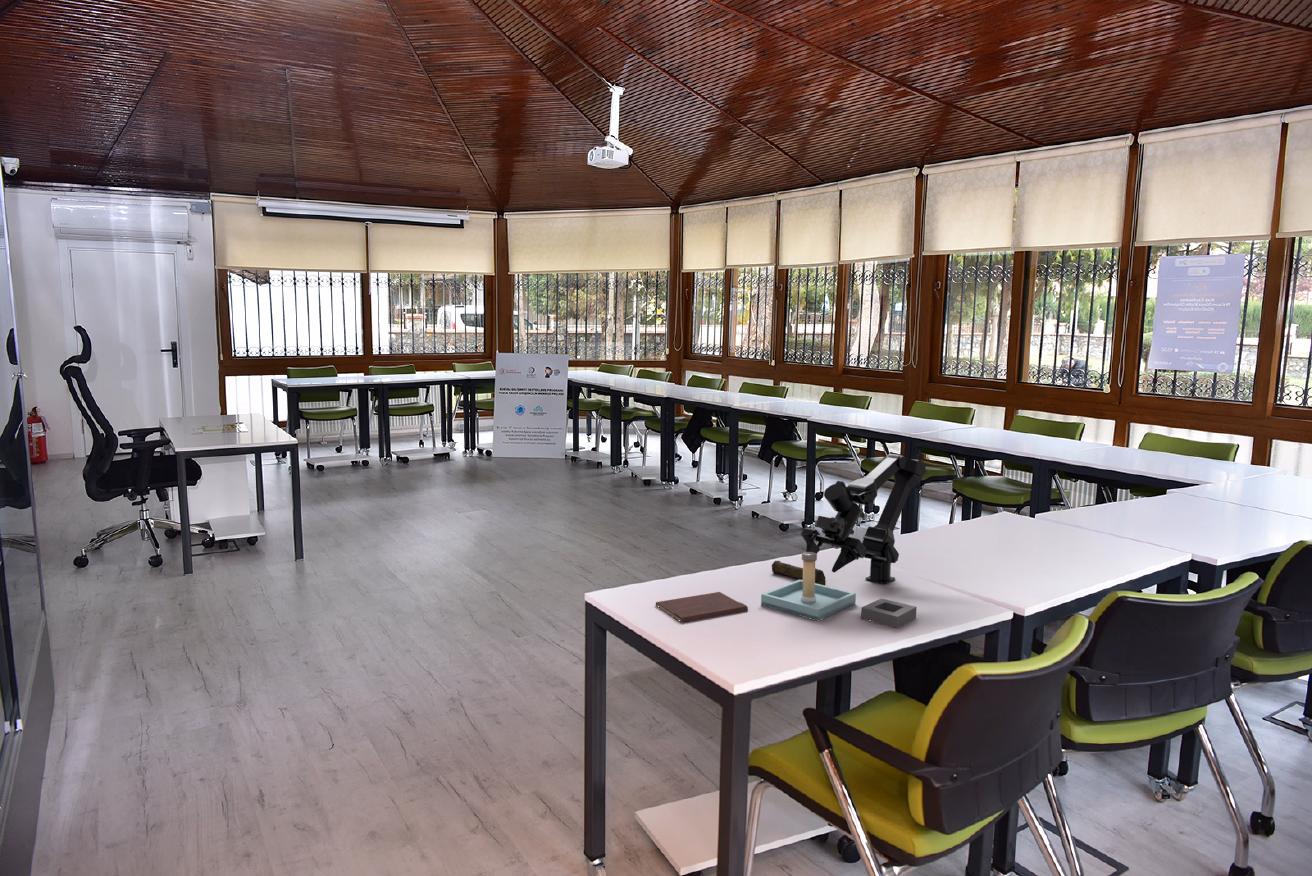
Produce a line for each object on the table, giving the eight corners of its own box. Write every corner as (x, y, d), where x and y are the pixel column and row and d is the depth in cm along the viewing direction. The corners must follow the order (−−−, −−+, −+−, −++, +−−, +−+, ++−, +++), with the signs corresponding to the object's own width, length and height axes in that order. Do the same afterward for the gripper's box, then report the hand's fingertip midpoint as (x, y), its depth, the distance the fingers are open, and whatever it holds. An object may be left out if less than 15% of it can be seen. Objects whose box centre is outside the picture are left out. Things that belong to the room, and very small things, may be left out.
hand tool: (770, 574, 252) (770, 559, 251) (779, 571, 254) (779, 556, 254) (818, 589, 237) (819, 573, 237) (828, 586, 240) (828, 570, 239)
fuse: (813, 598, 225) (814, 551, 224) (817, 603, 221) (819, 555, 220) (798, 598, 225) (799, 552, 223) (803, 603, 221) (804, 556, 219)
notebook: (655, 607, 223) (655, 600, 223) (718, 596, 232) (718, 590, 232) (681, 625, 210) (681, 617, 210) (748, 613, 218) (748, 606, 218)
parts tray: (799, 589, 236) (799, 579, 235) (855, 604, 223) (855, 593, 223) (761, 605, 223) (761, 594, 223) (818, 621, 211) (818, 609, 210)
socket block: (880, 609, 219) (881, 598, 219) (916, 618, 212) (916, 606, 212) (861, 618, 212) (861, 607, 212) (897, 628, 205) (897, 616, 205)
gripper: (805, 499, 233) (779, 544, 227) (860, 510, 219) (834, 558, 213) (822, 522, 239) (797, 566, 234) (877, 533, 225) (852, 581, 219)
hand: (819, 568), depth 225 cm, fingers open, 9 cm apart
